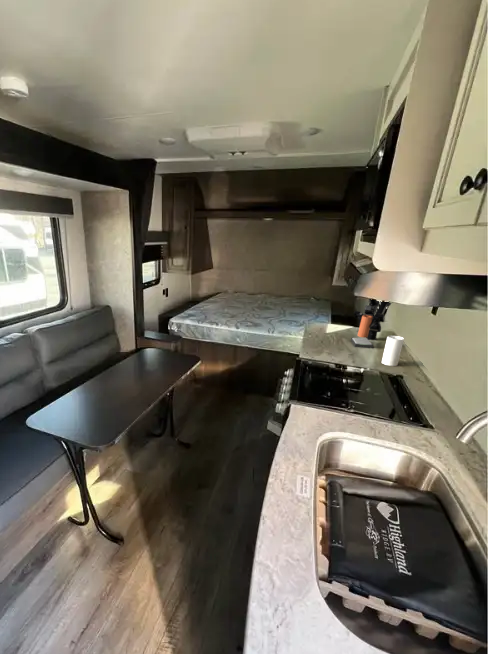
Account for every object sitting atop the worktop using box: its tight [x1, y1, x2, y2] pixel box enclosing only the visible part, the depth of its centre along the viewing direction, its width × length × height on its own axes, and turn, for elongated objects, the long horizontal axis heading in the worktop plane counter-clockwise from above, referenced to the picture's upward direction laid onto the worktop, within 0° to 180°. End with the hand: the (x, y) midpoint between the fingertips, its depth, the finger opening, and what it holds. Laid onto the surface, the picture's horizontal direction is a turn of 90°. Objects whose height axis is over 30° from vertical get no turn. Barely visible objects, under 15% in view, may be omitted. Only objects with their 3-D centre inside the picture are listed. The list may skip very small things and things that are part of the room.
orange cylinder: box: [357, 315, 373, 339], centre depth 222 cm, size 6×6×14 cm
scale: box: [350, 337, 374, 349], centre depth 229 cm, size 15×11×3 cm
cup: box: [381, 335, 405, 367], centre depth 192 cm, size 8×8×16 cm
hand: (364, 326), depth 221 cm, fingers closed on orange cylinder, 6 cm apart
